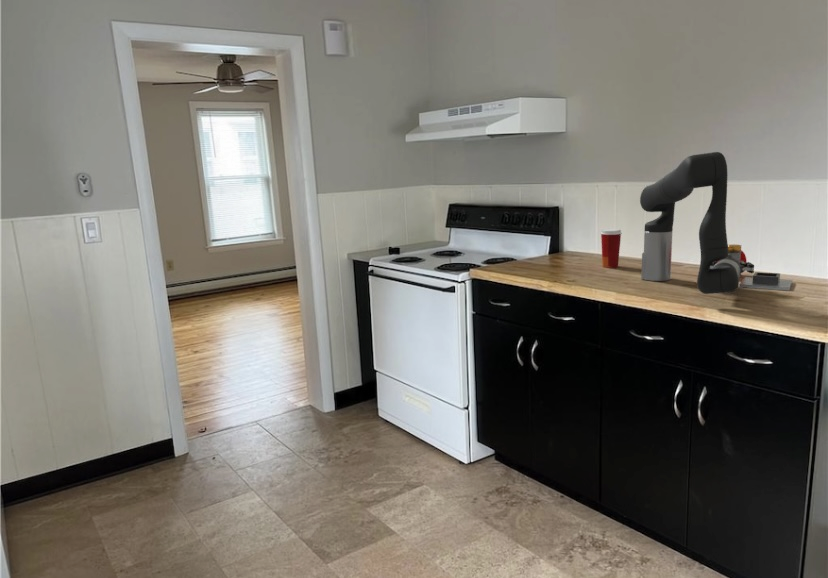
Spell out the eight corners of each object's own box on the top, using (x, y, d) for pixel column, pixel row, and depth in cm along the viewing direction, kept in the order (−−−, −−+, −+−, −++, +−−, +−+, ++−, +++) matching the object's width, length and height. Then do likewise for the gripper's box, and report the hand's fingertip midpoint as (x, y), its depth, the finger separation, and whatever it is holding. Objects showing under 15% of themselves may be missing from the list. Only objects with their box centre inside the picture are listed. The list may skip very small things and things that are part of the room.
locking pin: (723, 288, 198) (726, 245, 195) (725, 286, 201) (728, 244, 198) (737, 289, 196) (740, 246, 193) (739, 287, 199) (742, 244, 196)
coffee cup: (623, 265, 249) (624, 229, 246) (617, 268, 242) (618, 231, 239) (602, 264, 253) (603, 228, 251) (596, 267, 247) (597, 230, 244)
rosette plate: (739, 287, 199) (739, 276, 198) (744, 279, 210) (745, 270, 209) (789, 290, 191) (790, 279, 190) (792, 282, 202) (793, 272, 202)
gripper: (753, 260, 181) (759, 252, 194) (701, 258, 189) (710, 251, 202) (751, 285, 182) (758, 275, 196) (700, 282, 190) (709, 273, 204)
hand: (734, 263), depth 199 cm, fingers closed on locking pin, 4 cm apart
